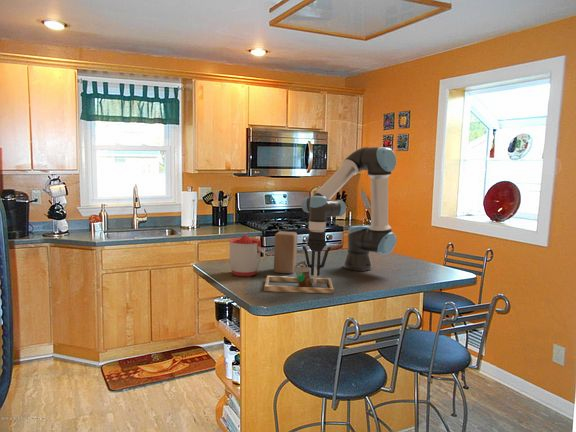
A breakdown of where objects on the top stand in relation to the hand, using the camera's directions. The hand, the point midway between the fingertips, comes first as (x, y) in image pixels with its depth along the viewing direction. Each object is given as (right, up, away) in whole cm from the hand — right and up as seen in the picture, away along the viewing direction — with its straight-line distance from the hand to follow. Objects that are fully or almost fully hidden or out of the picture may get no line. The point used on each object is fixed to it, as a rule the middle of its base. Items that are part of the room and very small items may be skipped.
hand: (314, 282), depth 202 cm
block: (-14, +1, +29) cm, 32 cm away
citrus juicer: (-33, +1, +20) cm, 38 cm away
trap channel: (-7, -2, +1) cm, 7 cm away
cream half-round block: (-5, -2, +1) cm, 6 cm away
